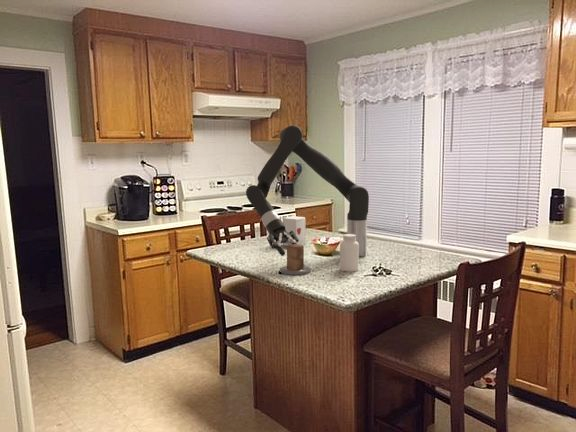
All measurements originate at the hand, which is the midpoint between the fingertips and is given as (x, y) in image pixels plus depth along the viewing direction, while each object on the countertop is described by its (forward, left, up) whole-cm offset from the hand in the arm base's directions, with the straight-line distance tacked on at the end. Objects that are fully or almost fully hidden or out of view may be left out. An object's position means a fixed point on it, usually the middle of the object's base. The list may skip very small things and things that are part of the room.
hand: (291, 253), depth 202 cm
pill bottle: (-24, -6, -8) cm, 26 cm away
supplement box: (+9, -51, -8) cm, 52 cm away
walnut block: (-2, +1, -6) cm, 7 cm away
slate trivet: (-2, +1, -7) cm, 8 cm away
